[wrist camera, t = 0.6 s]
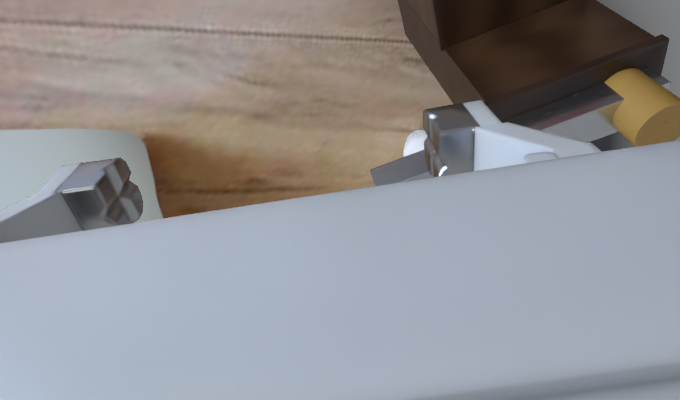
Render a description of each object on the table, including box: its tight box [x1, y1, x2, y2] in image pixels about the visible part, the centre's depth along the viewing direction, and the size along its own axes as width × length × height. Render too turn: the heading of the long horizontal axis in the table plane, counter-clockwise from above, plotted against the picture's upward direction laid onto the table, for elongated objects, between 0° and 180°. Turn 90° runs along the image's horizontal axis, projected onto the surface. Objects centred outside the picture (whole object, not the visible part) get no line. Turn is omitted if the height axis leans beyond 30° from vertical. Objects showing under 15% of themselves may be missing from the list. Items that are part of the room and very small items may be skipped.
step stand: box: [398, 0, 669, 121], centre depth 42 cm, size 14×13×26 cm
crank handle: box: [370, 66, 680, 186], centre depth 34 cm, size 22×4×5 cm, turn 108°
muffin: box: [404, 130, 427, 157], centre depth 65 cm, size 6×6×7 cm
